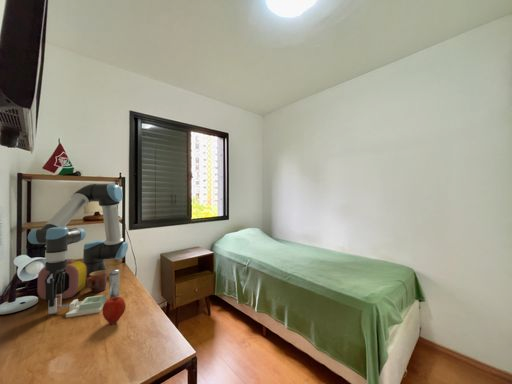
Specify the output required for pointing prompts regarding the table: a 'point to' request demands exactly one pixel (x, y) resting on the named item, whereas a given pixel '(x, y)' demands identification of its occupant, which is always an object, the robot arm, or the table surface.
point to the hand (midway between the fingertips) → (54, 310)
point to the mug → (97, 281)
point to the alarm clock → (66, 279)
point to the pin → (64, 304)
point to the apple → (114, 309)
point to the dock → (87, 306)
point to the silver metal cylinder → (114, 283)
